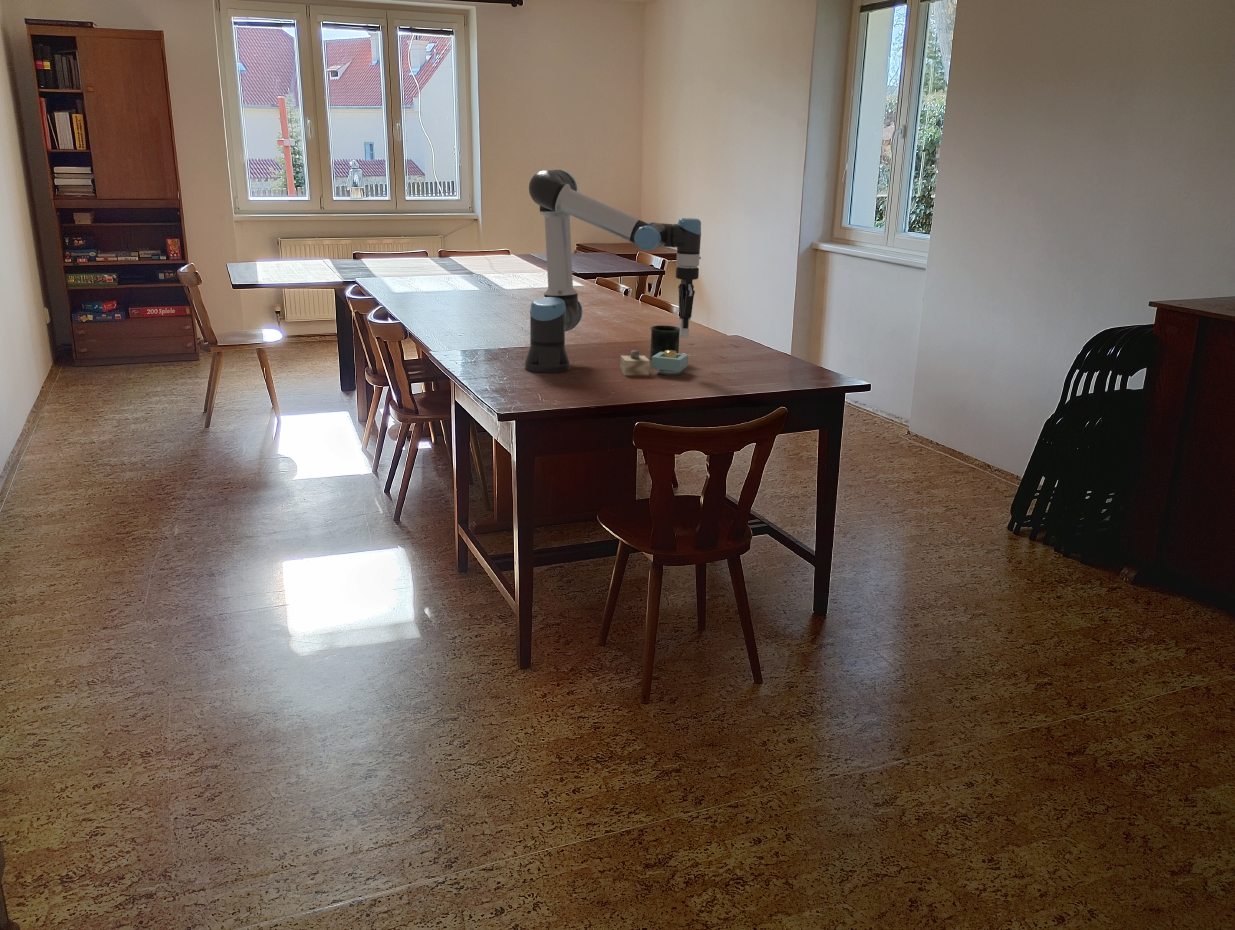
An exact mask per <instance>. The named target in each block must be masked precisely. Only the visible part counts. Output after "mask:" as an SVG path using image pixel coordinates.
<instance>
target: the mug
mask: <svg viewBox="0 0 1235 930" xmlns="http://www.w3.org/2000/svg"><path fill="white" fill-rule="evenodd" d="M650 330H651V331H650V332H651V333H650V334H651V335H650V354H649V355H650V356H649V357H650V358H649V360H650V362H651V361H652V356H654V355H656V354H657V353H659V352H665V351H666V350H674V351H676V353H678V354H679V348H680V347H679V346H680V337H679V335H680V326H674V325H666V324H665V325H653V326H650Z"/></svg>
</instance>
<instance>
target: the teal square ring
mask: <svg viewBox="0 0 1235 930" xmlns="http://www.w3.org/2000/svg"><path fill="white" fill-rule="evenodd" d="M664 355H665V352H659V353H657V354H656V355H654V356H652V361H651V360H650V363H651V365H650V366H651V367H650V368H651V369H652V370H658V369H660V370H669V371H678V372H680V371H681V372H682V371H683V370H684V369H686V368H687V367H688V365H689V354H688V353H687V354H686V353H679V352H678V353H676V358H668V357H664Z"/></svg>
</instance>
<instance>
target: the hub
mask: <svg viewBox="0 0 1235 930" xmlns="http://www.w3.org/2000/svg"><path fill="white" fill-rule="evenodd" d="M664 357H668V358H676V351H674V350H666V351H665V355H664ZM657 373H658V374H659V375H661V376H667V377H668V376H671V377H672V376H674V377H675V376H680V375H682V370H681V371H680V372H678V371H669V370H660V369H657Z"/></svg>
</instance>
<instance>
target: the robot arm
mask: <svg viewBox="0 0 1235 930" xmlns="http://www.w3.org/2000/svg"><path fill="white" fill-rule="evenodd" d="M528 191H529V192H528V193H529V196H530V198H531V199H532V201H533V202H534V203H535V204H536V205H538V206H539V213H540V214H541V215H542V216H543V218H544V228H545V231H544V232H545V234H544V235H545V249H546V250H545V251H546V253H545V254H546V268H547V269H546V270H547V271H546V272H547V285H548V286H547V289H546V291H545V292H543V293H544V294H543V297H539V298H535V299H534V300H533V301H532V302H531V303H530V310H529V314H530V315H529V316H530V317H529V318H530V322H529V323H530V324H529V325H530V326H529V327H530V330H529V331H530V337H529V339H530V341H529V342H530V345H529V349H528V352H527V355H526V357H525V358H526V359H525V361H524V369H526V370H527V371H529V372H533V373H543V374H551V373H552V374H554V373H555V374H556V373H564V372H566V371H569V370H570V359H569V356H568V353H567V349H566V347H565V344H566V340H565V339H566V334H565V333H566V332H568V331H571V330H573V329H574V328H576V327H577V326H578V325H579V323H580V321H581V320H582V317H583V308H582V307H583V306H582V305H581V303H580V301H579V300H578V299H579V297H578V296H579V295H578V291H577V290H576V289H575V288H574V283H573V282H574V281H573V262H572V261H573V260H572V259H573V257H572V237H571V216H572V217H573V218H576V219H578V220H580V221H583V222H585V223H588V224H590V225H592V226H595V227H596V228H599V229H601V230H604V231H605V232H606V233H607V232H608V233H610V234H612V235H614V236H615V237H619V238H621V239H623V240H625V241H628V242H630V243H631V244H633V245H635V246H636V247H637V248H638V249H639V250H642V251H646V252H649V251H653V250H656V249H659V248H661V247H662V248H676V259H675V260H676V261H675V262H676V263H675V265H676V268H675V278H676V279H677V280H680V284H679V285H678V287H677V288H678V315H679V319H680V320H679V328H680V334H679V339H686V338H687V339H688V338H689V330H690V329H689V327H690V319H691V318H692V313H693V304H694V297H695V294H696V290H694V288H695V287H694V285H693V281H695V280H698V279H699V273H700V269H699V266H700V260H701V259H702V257H701V256H700V253H701V239H702V238H701V237H702V222H701V220H700V219H699V218H694V217H693V218H692V217H691V218H690V217H688V218H687V217H680V218H679V219H678V221H677V223H663V222H662V223H660V222H646V221H643V220H641V219H639V218H637V217H634V216H633V215H630V214H628V213H626V212H623V211H621V210H619V209H616V208H614V207H612V206H610V205H608V204H605V203H604V202H601V201H598V200H596V199H594V198H592V197H590V196H588V195H585V194H583V193H581V192H579V191H578V184H577V181H576V180H575V178H574V177H573V175H571V174H570V173H569V172H567V171H564V170H562V169H544V170H540V171H538V172H536V173H535V174H533V176H532V177H531V178H530V180H529V184H528Z"/></svg>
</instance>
